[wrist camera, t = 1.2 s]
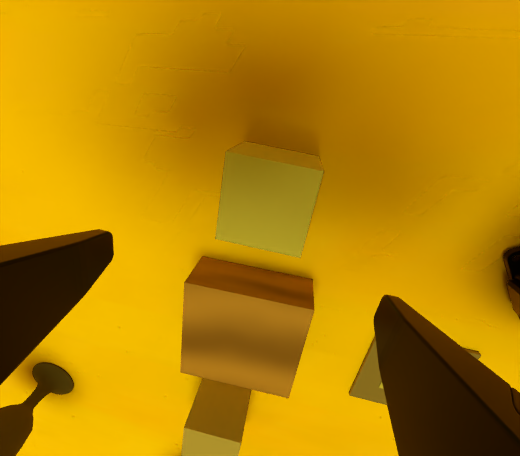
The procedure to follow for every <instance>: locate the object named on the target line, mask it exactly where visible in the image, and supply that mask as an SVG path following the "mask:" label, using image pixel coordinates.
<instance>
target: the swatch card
mask: <svg viewBox="0 0 520 456" xmlns="http://www.w3.org/2000/svg"><path fill="white" fill-rule="evenodd" d="M465 350H466V351H467V352H469V353H470V354H471V355H472V356H474V357H475V358H476V359H477V360H478V359H479V357H480V356H481V354H480V353H479V352H476V351H472V350H468V349H465ZM349 395H350V396H354V397H358V398H362V399H366V400H369V401H373V402H377V403H381V404H385V405H387V402H386V397H385V393H384V389H383V384H382V380H381V376H380V371H379V365H378V357H377V348H376V339H375V337H374V340H373V342H372V344H371V346H370V348H369V350H368V353H367V355H366V357H365V359H364V361H363V363H362V365H361V368H360V370H359V372H358V374H357V376H356V378H355V381H354V383H353V385H352V387H351V389H350V391H349Z"/></svg>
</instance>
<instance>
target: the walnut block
mask: <svg viewBox="0 0 520 456" xmlns="http://www.w3.org/2000/svg"><path fill="white" fill-rule="evenodd" d="M313 313H314V296H313V279H308V278H303V277H299V276H294V275H289V274H284V273H279V272H274V271H270V270H265V269H260V268H255V267H250V266H246V265H241V264H236V263H231V262H226V261H222V260H217V259H212V258H207V257H202V258H201V259H200V261H199V262H198V263H197V265H196V266H195V268H194V269H193V271H192V272H191V274H190V275H189V277H188V278H187V279H186V281H185V282H184V304H183V327H182V349H181V373H185V374H189V375H193V376H198V377H202V378H206V379H210V380H214V381H219V382H223V383H227V384H231V385H235V386H240V387H244V388H248V389H252V390H256V391H260V392H265V393H269V394H273V395H277V396H281V397H286V398H289V395H290V392H291V388H292V385H293V381H294V378H295V375H296V371H297V368H298V364H299V361H300V357H301V354H302V351H303V347H304V344H305V340H306V337H307V334H308V330H309V327H310V323H311V320H312V316H313Z"/></svg>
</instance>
